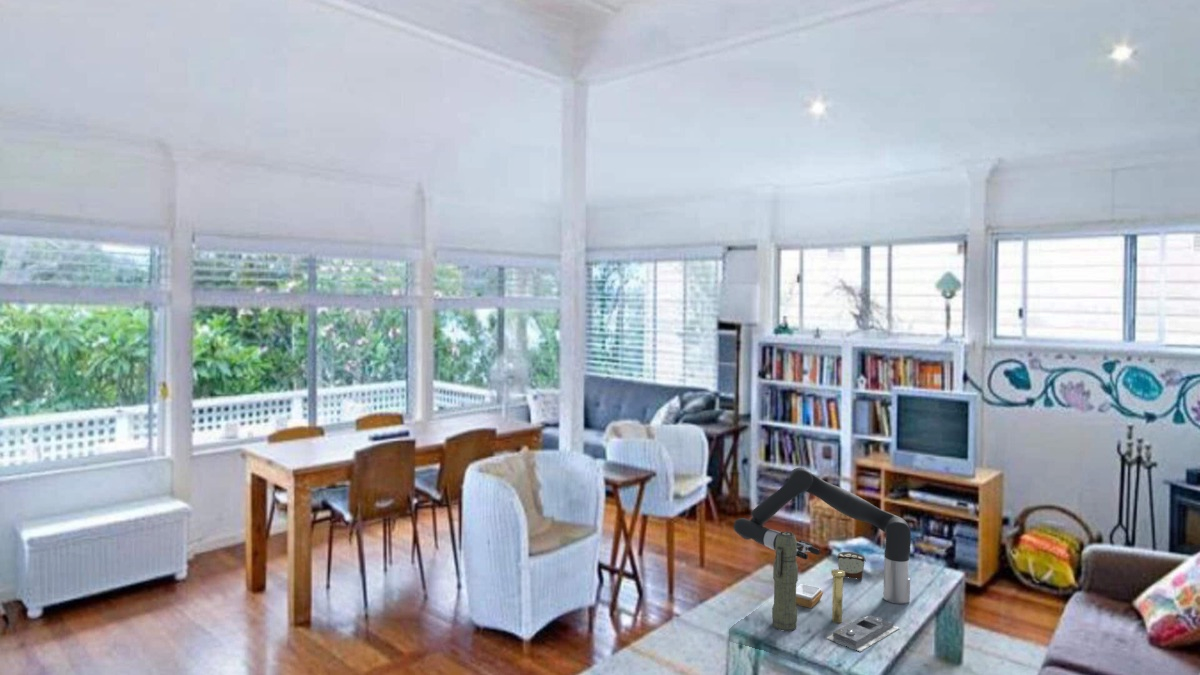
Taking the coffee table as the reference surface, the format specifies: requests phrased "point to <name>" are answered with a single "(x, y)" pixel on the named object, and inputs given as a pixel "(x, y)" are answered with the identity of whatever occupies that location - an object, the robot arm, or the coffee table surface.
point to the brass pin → (837, 595)
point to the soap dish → (807, 595)
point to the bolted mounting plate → (863, 632)
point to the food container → (851, 564)
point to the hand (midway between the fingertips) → (813, 554)
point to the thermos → (785, 582)
